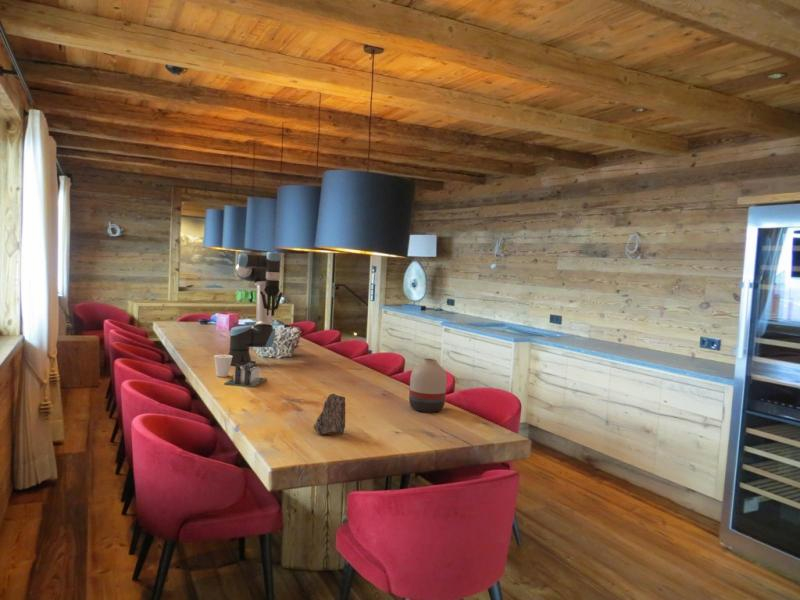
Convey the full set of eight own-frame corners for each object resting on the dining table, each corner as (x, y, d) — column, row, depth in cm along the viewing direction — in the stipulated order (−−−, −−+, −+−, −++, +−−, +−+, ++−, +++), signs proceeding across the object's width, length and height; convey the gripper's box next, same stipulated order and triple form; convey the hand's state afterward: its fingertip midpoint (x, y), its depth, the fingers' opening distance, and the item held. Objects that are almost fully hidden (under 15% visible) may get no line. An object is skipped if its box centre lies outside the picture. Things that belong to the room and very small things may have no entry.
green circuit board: (238, 377, 312) (239, 358, 311) (266, 379, 310) (268, 361, 310) (224, 384, 292) (225, 364, 291) (254, 387, 291) (255, 367, 290)
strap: (248, 364, 308) (248, 362, 308) (254, 364, 308) (254, 362, 307) (238, 369, 293) (238, 367, 293) (245, 370, 293) (245, 368, 293)
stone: (350, 436, 219) (353, 398, 218) (317, 438, 213) (319, 399, 212) (340, 426, 230) (342, 390, 230) (308, 428, 225) (310, 391, 224)
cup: (228, 378, 307) (229, 358, 307) (210, 377, 308) (211, 356, 307) (234, 374, 317) (235, 355, 317) (216, 373, 317) (217, 354, 317)
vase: (450, 409, 272) (454, 360, 270) (434, 416, 257) (437, 364, 256) (419, 403, 280) (422, 355, 279) (401, 409, 266) (405, 358, 264)
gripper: (258, 279, 317) (256, 321, 319) (281, 280, 316) (279, 323, 318) (263, 278, 325) (261, 320, 326) (285, 280, 324) (283, 321, 325)
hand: (270, 321), depth 322 cm, fingers closed
